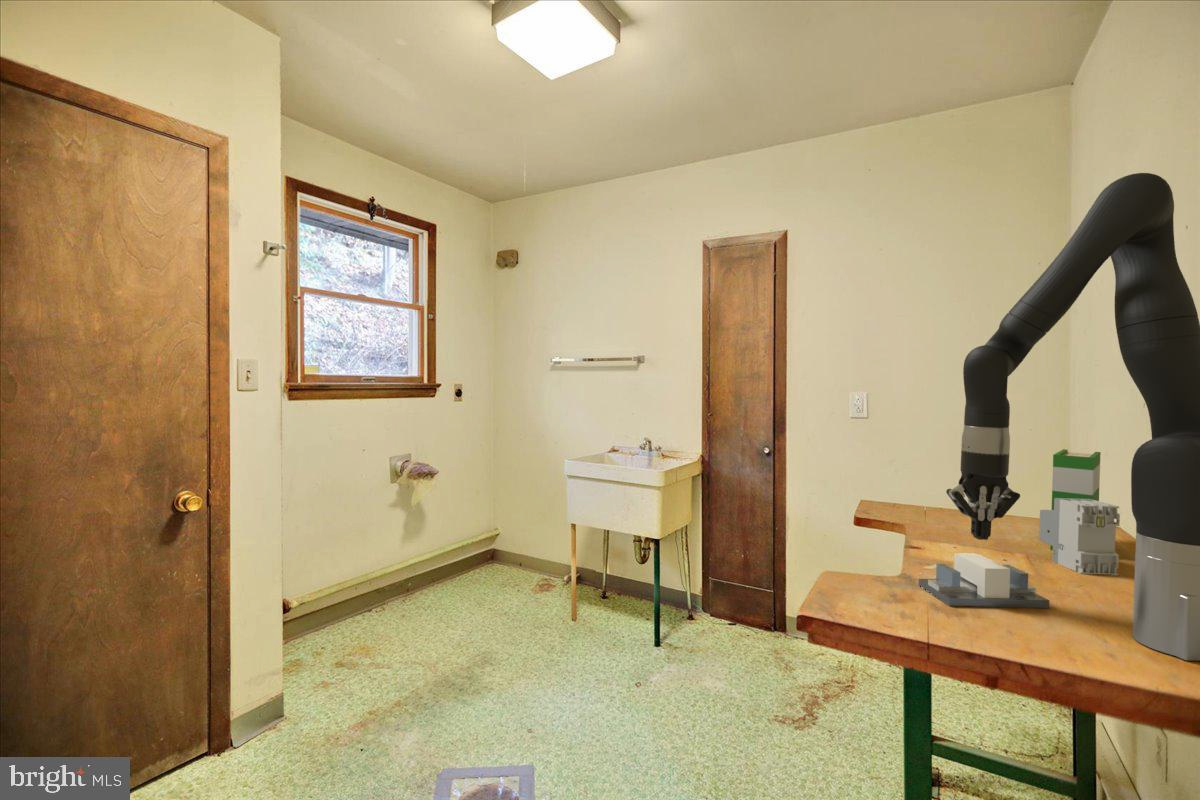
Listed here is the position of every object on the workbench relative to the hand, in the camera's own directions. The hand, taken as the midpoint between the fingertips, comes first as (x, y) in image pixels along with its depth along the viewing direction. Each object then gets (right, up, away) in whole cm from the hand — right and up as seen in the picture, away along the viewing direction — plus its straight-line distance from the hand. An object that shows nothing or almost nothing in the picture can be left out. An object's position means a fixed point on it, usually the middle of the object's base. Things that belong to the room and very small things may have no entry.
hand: (980, 538), depth 103 cm
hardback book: (+48, -11, +33) cm, 59 cm away
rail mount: (0, -11, 0) cm, 11 cm away
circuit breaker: (+36, -11, +20) cm, 42 cm away
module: (0, -10, 0) cm, 10 cm away
